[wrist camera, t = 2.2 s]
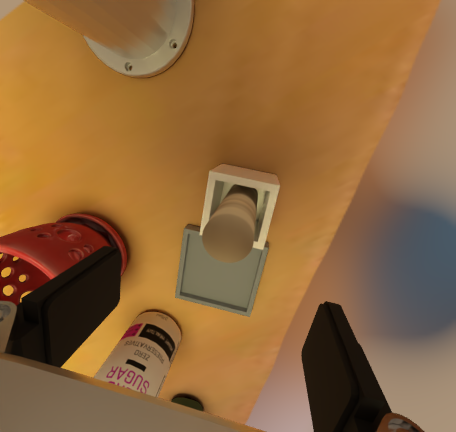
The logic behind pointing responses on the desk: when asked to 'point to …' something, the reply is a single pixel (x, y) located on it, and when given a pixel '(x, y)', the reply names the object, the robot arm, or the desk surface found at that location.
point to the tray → (218, 276)
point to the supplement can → (143, 354)
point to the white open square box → (230, 175)
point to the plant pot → (53, 251)
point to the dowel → (232, 225)
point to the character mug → (188, 403)
